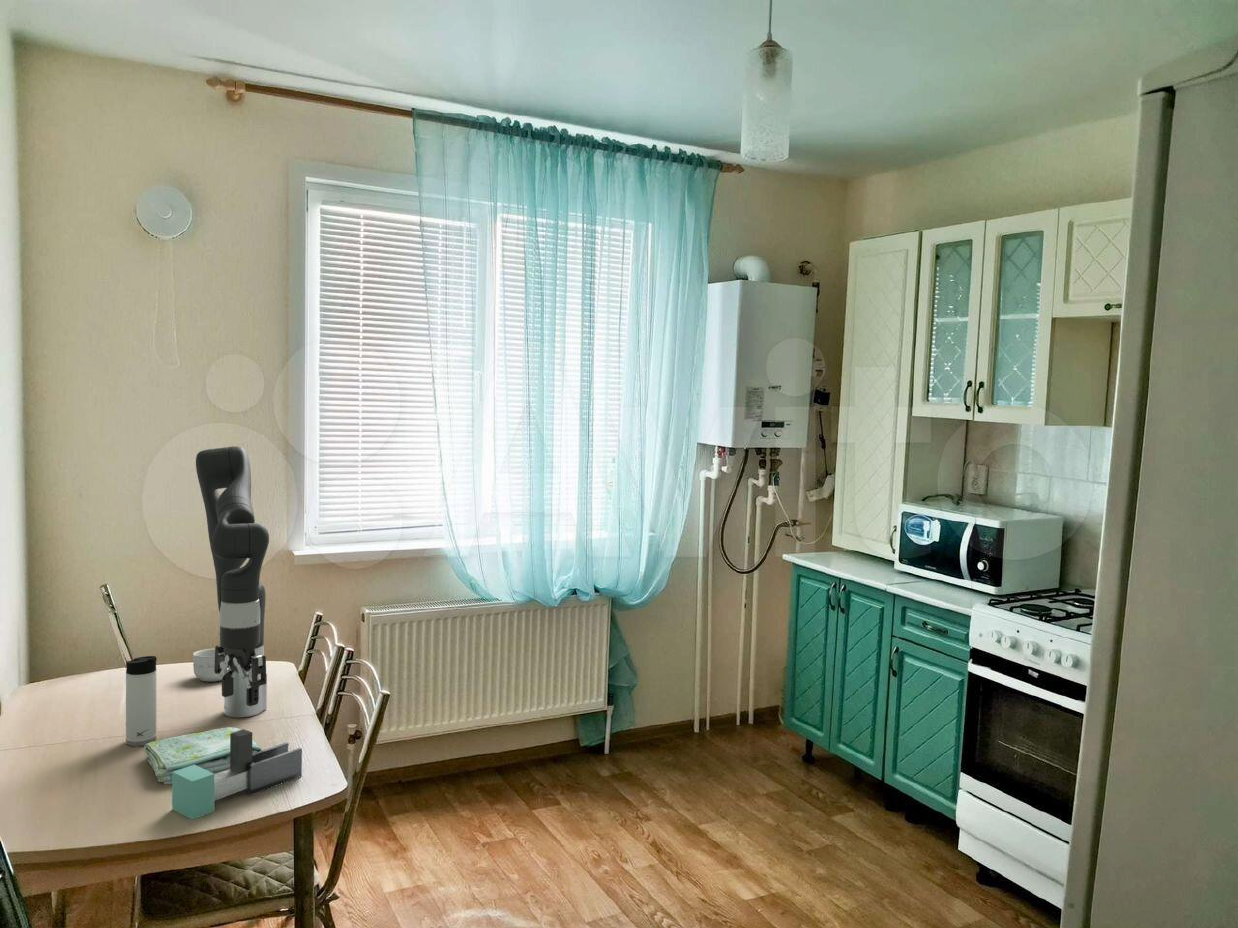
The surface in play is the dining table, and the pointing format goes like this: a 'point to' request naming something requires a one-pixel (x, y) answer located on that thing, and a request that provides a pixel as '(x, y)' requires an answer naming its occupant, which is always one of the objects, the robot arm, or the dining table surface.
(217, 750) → the towel
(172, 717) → the dining table surface
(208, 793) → the socket block
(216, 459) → the robot arm
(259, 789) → the sleeve
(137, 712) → the travel mug
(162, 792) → the dining table surface
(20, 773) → the dining table surface
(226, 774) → the inner bar
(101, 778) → the dining table surface
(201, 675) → the teacup
